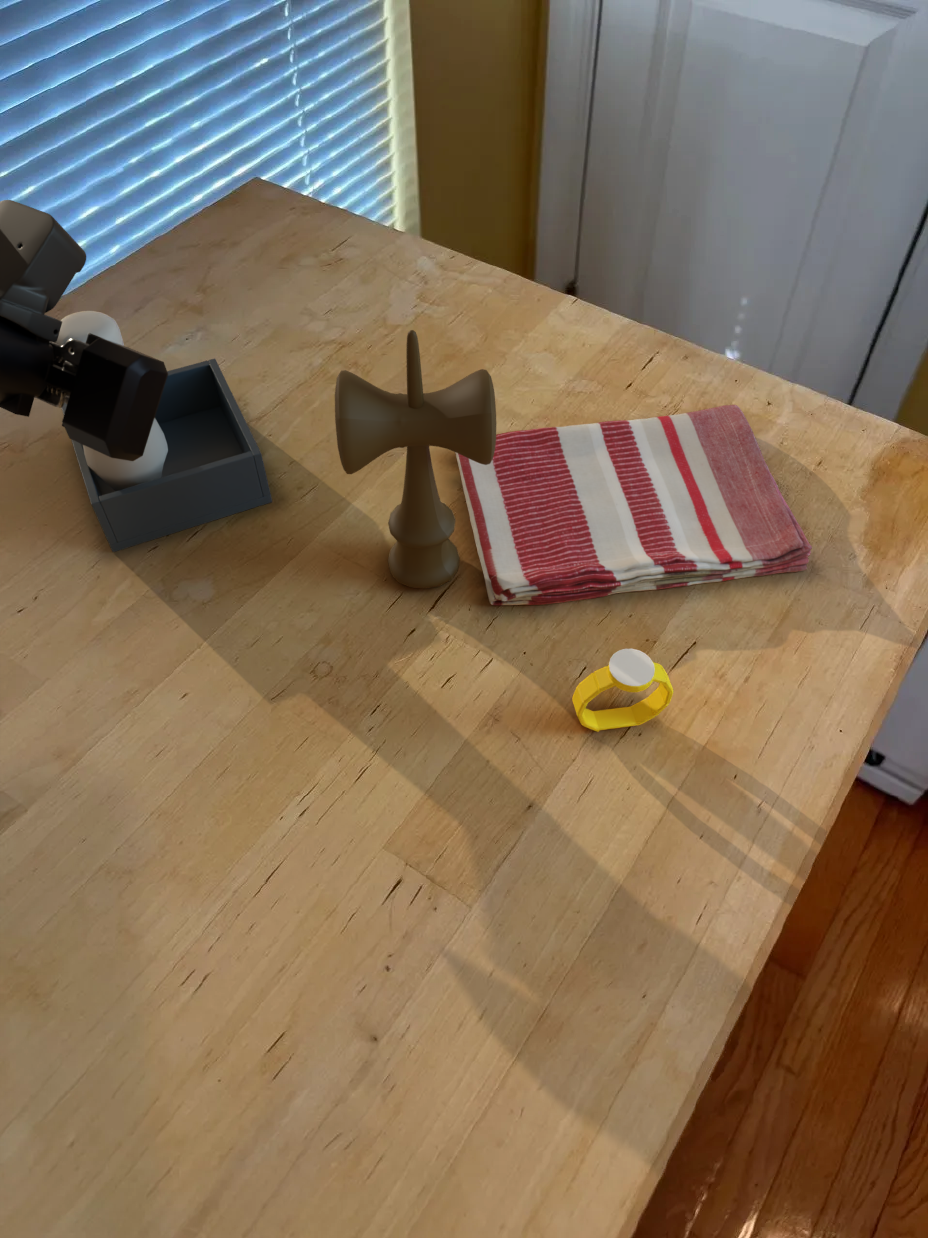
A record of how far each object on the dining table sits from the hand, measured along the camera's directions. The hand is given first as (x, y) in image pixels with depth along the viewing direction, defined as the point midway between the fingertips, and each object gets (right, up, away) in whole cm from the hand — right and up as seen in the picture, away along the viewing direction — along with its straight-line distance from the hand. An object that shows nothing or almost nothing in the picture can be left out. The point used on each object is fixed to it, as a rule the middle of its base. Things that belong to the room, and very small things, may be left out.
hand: (122, 387), depth 65 cm
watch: (+33, -23, -5) cm, 41 cm away
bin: (+1, -5, +8) cm, 10 cm away
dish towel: (+36, -8, +6) cm, 37 cm away
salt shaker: (-1, -5, +5) cm, 7 cm away
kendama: (+21, -12, +3) cm, 24 cm away
